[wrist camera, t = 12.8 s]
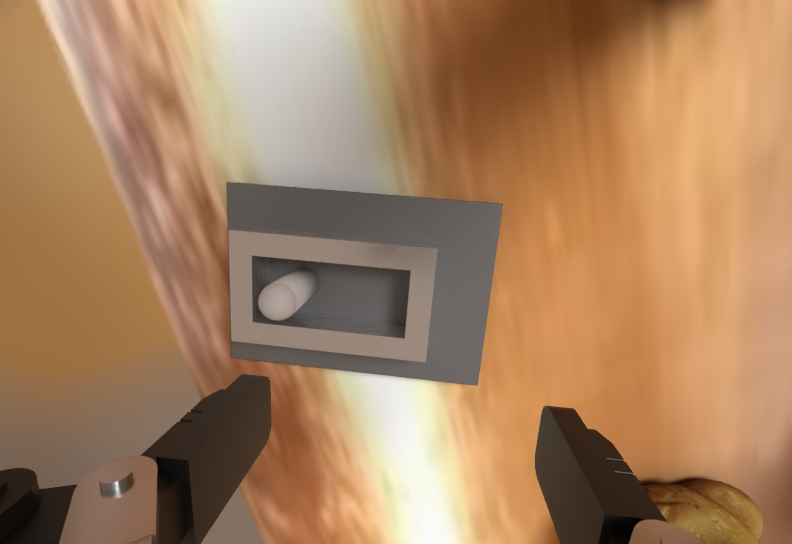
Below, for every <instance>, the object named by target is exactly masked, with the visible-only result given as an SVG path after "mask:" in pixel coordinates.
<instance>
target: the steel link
mask: <svg viewBox="0 0 792 544" xmlns="http://www.w3.org/2000/svg"><path fill="white" fill-rule="evenodd" d="M228 232H229V269H230V307H231V341H236V342H245V343H254V344H263V345H272V346H281V347H290V348H299V349H308V350H317V351H326V352H335V353H344V354H353V355H362V356H371V357H380V358H389V359H398V360H407V361H417V362H426V356H427V347H428V337H429V327H430V318H431V308H432V298H433V288H434V279H435V269H436V259H437V249H438V248H437V242H428V241H417V240H406V239H394V238H383V237H372V236H360V235H349V234H337V233H326V232H315V231H303V230H292V229H281V228H269V227H258V226H246V227H241V228H236V229H231V230H228ZM270 257H272V258H283V259H293V260H304V261H315V262H325V263H336V264H347V265H357V266H368V267H379V268H389V269H400V270H411V273H410V284H409V296H408V307H407V319H406V323H401V322H391V321H382V320H372V319H362V318H353V317H343V316H334V315H324V314H314V313H305V312H295V313H293V314H292V315H291V316H290V317H289V318H287V319H284V320H278V321H277V320H271V319H269V318H267V317H265V316H264V315H263V314H262V312H261V311H260V309H259V305H258V299H259V295H260V293H261V292H262V290H263V289H264V288H265V287H266V286H268V285H269V284H270Z"/></svg>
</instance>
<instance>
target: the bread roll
mask: <svg viewBox="0 0 792 544" xmlns="http://www.w3.org/2000/svg"><path fill="white" fill-rule="evenodd" d="M642 486H643V488H644V489H645V490H646V492H647V493H648V495H649V496H650V498H651V499H652V500H653V502H654V503H655V505H656V506H657V508H658V509H659V510H660V512H661V513H662V515H663V516H664V517H665V519H666V520H667V522H668V523H670V524H673V525H675V526H677V527H680V528H682V529H684V530H685V531H687V532H689V533H691V534H692V535H693V536H695V537H696V538H698V539H699V540H700V541H702V542H703V543H704V544H759V542H758V540H759V538H760V536H761V534H762V531H763V519H762V514H761V512H760V509H759V507H758V506H757V505H756V504H755V502H754V501H753V500H752V499H751V498H750V497H749V496H748V495H746V494H745V493H744V492H742V491H741V490H739V489H737V488H735V487H733V486H731V485H729V484H726V483H723V482H720V481H713V480H706V479H700V480H693V481H690V482H686V483H684V484H681V485H677V484H660V483H654V484H649V485H642Z"/></svg>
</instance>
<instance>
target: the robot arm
mask: <svg viewBox="0 0 792 544" xmlns="http://www.w3.org/2000/svg"><path fill="white" fill-rule="evenodd" d="M270 430H271V391H270V380H269V378H268V377H265V376H255V375H245V374H243V375H240V376H239V377H238V378H237V379H236V380H235V381H234V382H233V383H232V384H231V385H230V386H229V387H228V388H227V389H226V390H223V389H221V390H219V391H217V392H215V393H213V394H211V395H209V396H207V397H205V398H204V399H202V400H201V401H200V402H199V403H198V404H197V405H196V406H195V407H194V408H193V409H191V412H188V413H187V414H186V415H185V416H184V417H183V418H182V419H181V420H180V422H177V423H176V424H175V425H174V426H173V427H172V428H170V429H169V430H168V431H167V432H166V433H165V434H164V435H163V436H162V437H161V438H159V439H158V440H157V441H156V442H155V443H154V444H153V445H152V446H151V447H150V448H148V449H147V450H146V451H145V452H144V453H143V454H142V455H141V456H129V457H125V458H120V459H117V460H114V461H111V462H109V463H106V464H104V465H102V466H100V467H99V468H97V469H95V470H94V471H92V472H91V473H89V474H88V475H87V476H86V477H84V478H83V479H82V480H81V481H80V482H79V484H78V485H70V486H62V487H55V488H47V489H39V486H38V482H37V476H36V474H35V472H34V471H32V470H30V469H24V468H14V469H7V470H2V471H0V544H201V542H202V541H203V539H204V537H205V536H206V534H207V533H208V531H209V529H210V528H211V527H212V525H213V524H214V522H215V521H216V519H217V518H218V516H219V515H220V513H221V512H222V510H223V509H224V507H225V506H226V504H227V503H228V501H229V499H230V498H231V497H232V495H233V493H234V492H235V490H236V489H237V487H238V486H239V484H240V483H241V481H242V480H243V478H244V477H245V475H246V474H247V472H248V471H249V469H250V468H251V466H252V465H253V463H254V462H255V460H256V459H257V457H258V456H259V454H260V453H261V451H262V449H263V448H264V446H265V445H266V443H267V440H268V438H269V434H270ZM535 469H536V475H537V479H538V482H539V484H540V487H541V490H542V493H543V496H544V498H545V501H546V504H547V507H548V510H549V512H550V515H551V518H552V521H553V523H554V526H555V529H556V532H557V535H558V537H559V540H560V543H561V544H704V543H703V542H702V541H700V540H699V539H698V538H696V537H695V536H693V535H692V534H691V533H689V532H687V531H685V530H684V529H682V528H680V527H677V526H675V525H673V524H670V523H668V522H667V520H666V519H665V517H664V516H663V515H662V513H661V512H660V510H659V509H658V508H657V506H656V505H655V503H654V502H653V500H652V499H651V498H650V496H649V495H648V493H647V492H646V490H645V489H644V488H643V486H642V485H641V483H640V482H639V481H638V479H637V478H636V476H634V475H633V472H632V471H631V469H630V468H629V466H628V465H627V463H626V462H624V461H623V458H622V456H621V455H620V454H619V452H618V451H617V449H616V448H615V446H614V445H613V444H612V443H611V442H610V441H609V440H607V439H606V438H605V437H604V436H602V435H601V434H600V433H599V432H598V431H596V430H593V429H587V427H586V426H585V424H584V423H583V421H582V420H581V418H580V417H579V415H578V413H577V412H576V411H575V410H574V409H573V408H563V407H553V406H545V407H544V408H543V410H542V414H541V420H540V427H539V433H538V439H537V446H536V452H535Z"/></svg>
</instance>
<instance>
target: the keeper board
mask: <svg viewBox="0 0 792 544" xmlns="http://www.w3.org/2000/svg"><path fill="white" fill-rule="evenodd" d="M502 206H503V204H499V203H486V202H473V201H461V200H448V199H436V198H423V197H410V196H398V195H385V194H372V193H360V192H347V191H335V190H322V189H309V188H297V187H284V186H271V185H259V184H246V183H230V182H227V212H228V230H231V229H236V228H241V227H246V226H258V227H269V228H281V229H292V230H303V231H315V232H326V233H337V234H349V235H360V236H372V237H383V238H394V239H406V240H417V241H428V242H437V248H438V249H437V259H436V269H435V279H434V288H433V298H432V308H431V318H430V327H429V337H428V347H427V356H426V362H417V361H407V360H398V359H389V358H380V357H371V356H362V355H353V354H344V353H335V352H326V351H317V350H308V349H299V348H290V347H281V346H272V345H263V344H254V343H245V342H236V341H231V358H239V359H248V360H256V361H265V362H274V363H283V364H292V365H300V366H309V367H318V368H327V369H336V370H344V371H353V372H362V373H371V374H380V375H388V376H397V377H406V378H415V379H424V380H432V381H441V382H450V383H459V384H468V385H476V386H478V378H479V371H480V364H481V357H482V350H483V342H484V335H485V328H486V321H487V314H488V306H489V299H490V292H491V285H492V278H493V270H494V263H495V256H496V249H497V242H498V234H499V227H500V220H501V213H502ZM228 249H229V232H228ZM410 273H411V270H400V269H389V268H379V267H368V266H357V265H347V264H336V263H325V262H315V261H304V260H293V259H283V258H272V257H270V284H269V285H268V286H266V287H265V288H264V289H263V290H262V292H261V293H260V295H259V299H258V305H259V309H260V311H261V312H262V314H263V315H264V316H265V317H267V318H269V319H271V320H277V321H278V320H284V319H287V318H289V317H290V316H291V315H292V314H293V313H295V312H305V313H314V314H324V315H334V316H343V317H353V318H362V319H372V320H382V321H391V322H401V323H406V319H407V307H408V296H409V284H410ZM229 286H230V269H229ZM230 323H231V307H230Z"/></svg>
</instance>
